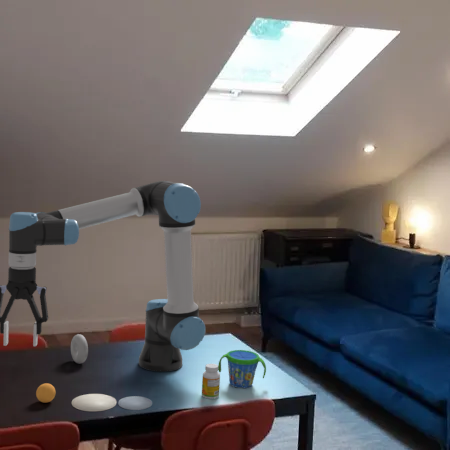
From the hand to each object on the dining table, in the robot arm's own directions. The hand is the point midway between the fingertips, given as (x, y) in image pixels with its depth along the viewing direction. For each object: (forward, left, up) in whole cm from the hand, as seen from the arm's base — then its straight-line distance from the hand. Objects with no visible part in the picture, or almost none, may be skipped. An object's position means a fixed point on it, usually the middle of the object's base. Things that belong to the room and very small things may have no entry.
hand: (20, 344), depth 198 cm
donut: (-14, -35, -17) cm, 41 cm away
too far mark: (-34, 0, -17) cm, 38 cm away
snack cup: (-68, -17, -17) cm, 72 cm away
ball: (-8, 0, -14) cm, 16 cm away
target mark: (-22, 0, -17) cm, 28 cm away
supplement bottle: (-57, -7, -17) cm, 60 cm away
